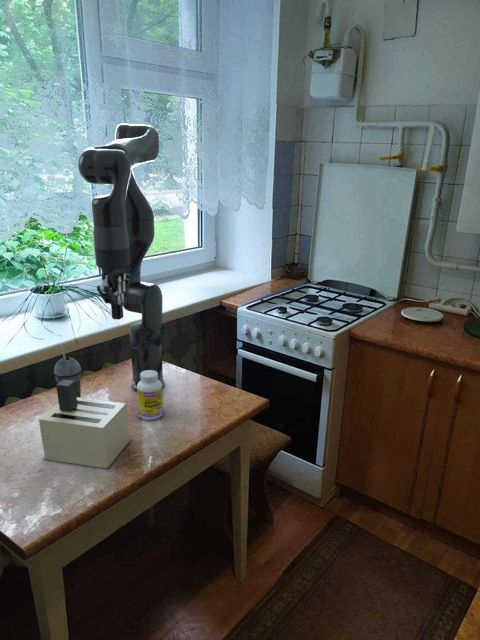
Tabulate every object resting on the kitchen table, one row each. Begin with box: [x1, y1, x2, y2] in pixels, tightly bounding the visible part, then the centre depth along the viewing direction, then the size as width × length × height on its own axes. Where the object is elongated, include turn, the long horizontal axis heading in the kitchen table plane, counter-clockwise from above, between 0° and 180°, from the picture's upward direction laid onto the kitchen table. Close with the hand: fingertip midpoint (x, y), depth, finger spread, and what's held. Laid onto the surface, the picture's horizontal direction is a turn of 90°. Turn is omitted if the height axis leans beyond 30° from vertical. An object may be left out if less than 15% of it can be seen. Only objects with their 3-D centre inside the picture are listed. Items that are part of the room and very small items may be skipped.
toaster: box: [38, 397, 130, 469], centre depth 120 cm, size 12×16×11 cm
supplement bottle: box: [136, 370, 164, 421], centre depth 137 cm, size 7×7×13 cm
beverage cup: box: [53, 344, 82, 398], centre depth 137 cm, size 7×7×20 cm
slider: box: [55, 380, 78, 412], centre depth 117 cm, size 3×3×7 cm
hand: (117, 318), depth 117 cm, fingers closed
